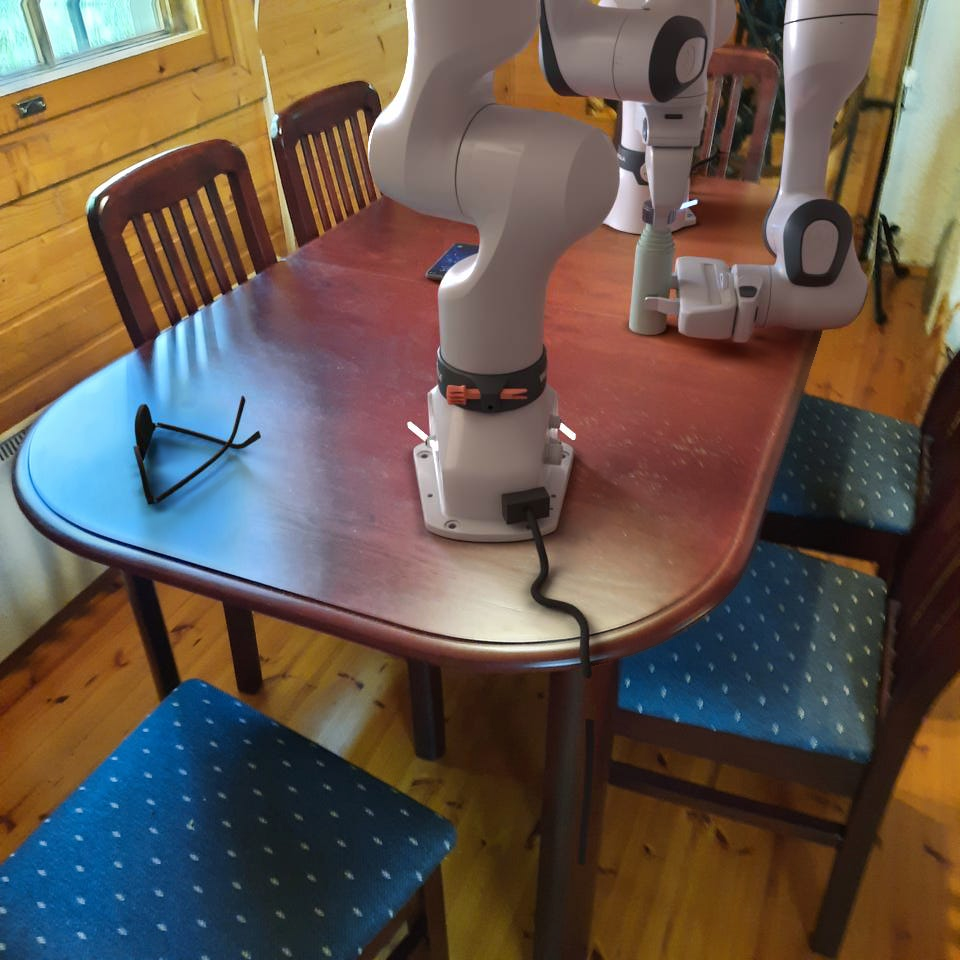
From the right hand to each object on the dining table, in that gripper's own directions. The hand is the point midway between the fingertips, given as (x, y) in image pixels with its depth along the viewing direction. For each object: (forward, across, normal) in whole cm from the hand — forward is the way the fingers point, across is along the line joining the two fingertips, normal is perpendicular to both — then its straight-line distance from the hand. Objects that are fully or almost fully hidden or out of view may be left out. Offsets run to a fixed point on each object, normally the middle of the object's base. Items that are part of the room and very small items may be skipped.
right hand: (644, 292), depth 124 cm
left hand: (-1, 0, -10) cm, 11 cm away
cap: (-1, 0, -12) cm, 13 cm away
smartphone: (+31, -20, +6) cm, 37 cm away
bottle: (-1, 0, +6) cm, 6 cm away
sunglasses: (+52, +40, +6) cm, 66 cm away
